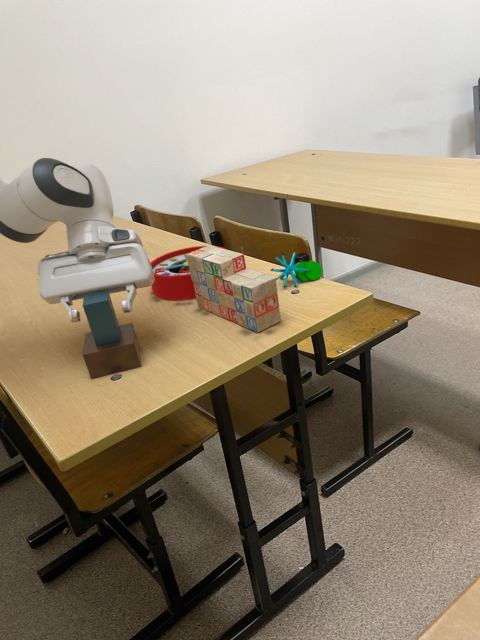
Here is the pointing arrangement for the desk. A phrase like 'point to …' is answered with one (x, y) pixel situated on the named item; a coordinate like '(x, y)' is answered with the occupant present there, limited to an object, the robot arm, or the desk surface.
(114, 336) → the teal block
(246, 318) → the stack of blocks
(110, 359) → the walnut block
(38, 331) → the desk surface
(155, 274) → the toy clock
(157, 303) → the desk surface
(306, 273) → the stick construction toy
